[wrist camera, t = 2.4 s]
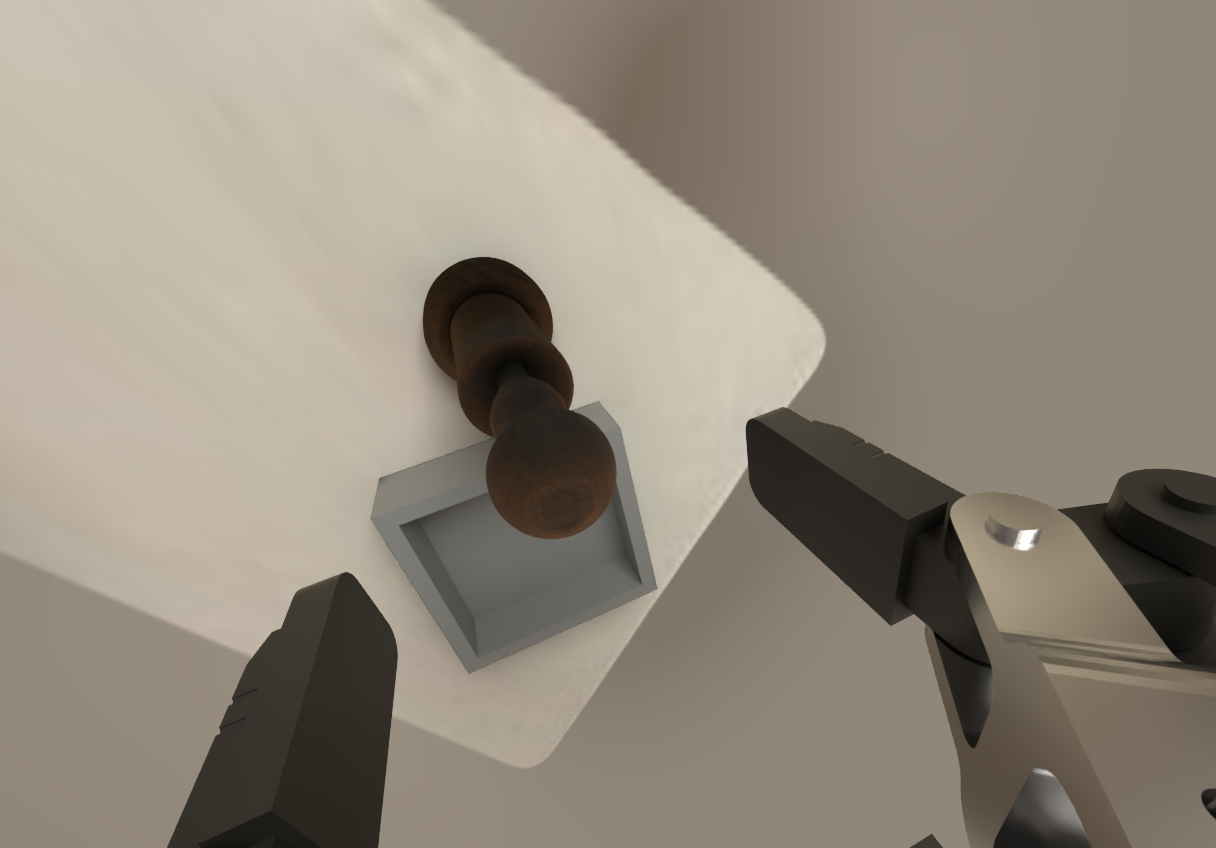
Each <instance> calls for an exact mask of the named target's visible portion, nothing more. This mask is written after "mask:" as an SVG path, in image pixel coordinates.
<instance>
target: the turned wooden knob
mask: <svg viewBox="0 0 1216 848" xmlns="http://www.w3.org/2000/svg"><path fill="white" fill-rule="evenodd" d="M423 330H424V337H425V341H426V344H427V347H428V349H429V351H430V353H431V355H432V357H433V359H434V360H435V362H436V363H437V364H438V365H439V367H440V368H441V369H442V370H443V371H444V372H445V373H446V374H448V375H449V376H450V377H452V378H453V379H454V380H456V381H457V384H458V394H459V400H460V404H461V407H462V409H463V411H464V413H465V415H466V416H467V418H468V419H469V421H470V422H471V423H472V424H473V425H474V426H475V427H476V428H477V429H479V430H480V431H482V432H483V433H485V434H487V435H489V436H491V437H493V438H496V440H495V442H494V443H493V445H492V447H491V449H490V452H489V455H488V459H487V463H486V484H487V489H488V492H489V495H490V498H491V500H492V502H493V504H494V506H495V508H496V509H497V511H498V512H499V514H500V515H501V516H502V517H503V519H504V520H505V521H506V522H507V523H509V524H510V525H511V526H512V527H514V528H515V529H517V530H518V531H520V532H522V533H524V534H526V535H529V536H532V537H536V538H541V539H561V538H566V537H570V536H573V535H575V534H578V533H580V532H582V531H584V530H585V529H587V528H588V527H590V526H591V525H592V524H594V523H595V522H596V521H597V520H598V519H599V518H600V517H601V516H602V514H603V513H604V512H605V510H606V509H607V507H608V505H609V503H610V501H611V499H612V496H613V494H614V490H615V485H616V477H617V469H616V461H615V456H614V452H613V450H612V447H611V445H610V443H609V441H608V439H607V437H606V436H605V434H604V433H603V432H602V430H601V429H600V428H599V427H598V426H597V425H596V424H595V423H594V422H592V421H591V420H590V419H588V418H587V417H585V416H583V415H581V414H579V413H577V412H574V411H571V410H569V408H570V405H571V402H572V398H573V391H574V384H573V378H572V373H571V370H570V368H569V366H568V364H567V362H566V360H565V359H564V357H563V356H562V354H561V353H560V352H559V351H558V350H557V349H556V347H555V346H554V345H553V344H552V343H551V339H552V333H553V321H552V314H551V310H550V307H549V304H548V301H547V299H546V297H545V295H544V294H543V292H542V290H541V289H540V288H539V286H538V285H537V284H536V283H535V282H534V281H533V280H532V279H531V278H530V277H529V276H528V275H527V274H526V273H524V272H523V271H522V270H521V269H519V268H518V267H516V266H515V265H513V264H511V263H509V262H506V261H504V260H500V259H496V258H490V257H477V258H470V259H466V260H463V261H460V262H458V263H456V264H454V265H452V266H450V267H449V268H447V269H446V270H445V271H444V272H442V273H441V274H440V275H439V276H438V278H437V279H436V280H435V281H434V283H433V284H432V286H431V288H430V290H429V292H428V294H427V297H426V300H425V304H424V311H423Z"/></svg>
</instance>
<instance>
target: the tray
mask: <svg viewBox="0 0 1216 848" xmlns="http://www.w3.org/2000/svg"><path fill="white" fill-rule="evenodd" d="M572 411H574V412H577V413H579V414H581V415H583V416H585V417H587V418H588V419H590V420H591V421H592V422H594V423H595V424H596V425H597V426H598V427H599V428H600V429H601V430H602V432H603V433H604V434H605V436H606V437H607V439H608V441H609V443H610V445H611V447H612V450H613V452H614V456H615V461H616V469H617V477H616V485H615V490H614V494H613V496H612V499H611V501H610V503H609V505H608V507H607V509H606V510H605V512H604V513H603V514H602V516H601V517H600V518H599V519H598V520H597V521H596V522H595V523H594V524H592V525H591V526H590V527H588V528H587V529H585V530H584V531H582V532H580V533H578V534H575V535H573V536H570V537H566V538H561V539H541V538H536V537H532V536H529V535H526V534H524V533H522V532H520V531H518V530H517V529H515V528H514V527H512V526H511V525H510V524H509V523H507V522H506V521H505V520H504V519H503V517H502V516H501V515H500V514H499V512H498V511H497V509H496V508H495V506H494V504H493V502H492V500H491V498H490V495H489V492H488V489H487V484H486V463H487V459H488V455H489V452H490V449H491V447H492V445H493V443H494V442H495V440H496V438H493V439H490V440H487V441H484V442H481V443H479V444H476V445H473V446H470V447H467V448H464V449H462V450H459V451H456V452H453V453H450V454H447V455H445V456H442V457H439V458H436V459H433V460H430V461H428V462H425V463H422V464H419V465H416V466H413V467H410V468H408V469H405V470H402V471H399V472H396V473H393V474H391V475H388V476H385V477H382V478H379V482H378V487H377V491H376V496H375V500H374V505H373V510H372V514H371V520H372V522H373V523H374V525H375V527H376V528H377V530H378V531H379V533H380V535H381V536H382V538H383V539H384V541H385V542H386V544H387V546H388V547H389V549H390V550H391V552H392V553H393V555H394V557H395V558H396V560H397V561H398V563H399V564H400V566H401V568H402V569H403V571H404V572H405V574H406V575H407V577H408V579H409V580H410V582H411V583H412V585H413V586H414V588H415V590H416V591H417V593H418V594H419V596H420V598H421V599H422V601H423V602H424V604H425V605H426V607H427V609H428V610H429V612H430V613H431V615H432V616H433V618H434V620H435V621H436V623H437V624H438V626H439V627H440V629H441V631H442V632H443V634H444V635H445V637H446V638H447V640H448V642H449V643H450V645H451V646H452V648H453V649H454V651H455V653H456V654H457V656H458V657H459V659H460V660H461V662H462V664H463V665H464V667H465V668H466V670H467V672H468V673H471V672H474V671H476V670H478V669H480V668H483V667H485V666H487V665H489V664H491V663H494V662H496V661H498V660H500V659H503V658H505V657H507V656H509V655H512V654H514V653H516V652H518V651H520V650H523V649H525V648H527V647H529V646H532V645H534V644H536V643H538V642H540V641H543V640H545V639H547V638H549V637H552V636H554V635H556V634H558V633H561V632H563V631H565V630H567V629H569V628H572V627H574V626H576V625H578V624H581V623H583V622H585V621H587V620H589V619H592V618H594V617H596V616H598V615H601V614H603V613H605V612H607V611H609V610H612V609H614V608H616V607H618V606H621V605H623V604H625V603H627V602H630V601H632V600H634V599H636V598H638V597H641V596H643V595H645V594H647V593H650V592H652V591H654V590H656V589H657V585H656V580H655V576H654V572H653V567H652V563H651V559H650V555H649V550H648V546H647V542H646V537H645V533H644V529H643V524H642V520H641V516H640V511H639V507H638V503H637V498H636V494H635V490H634V485H633V481H632V477H631V473H630V468H629V464H628V460H627V455H626V451H625V447H624V442H623V438H622V434H621V429H620V427H619V425H618V424H617V423H616V422H615V420H614V419H613V418H612V417H611V416H610V414H609V413H608V412H607V411H606V409H605V408H604V407H603V406H602V405H601V403H600V402H599V401H598V402H595V403H592V404H589V405H587V406H584V407H581V408H578V409H575V410H572Z"/></svg>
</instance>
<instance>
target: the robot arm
mask: <svg viewBox="0 0 1216 848" xmlns="http://www.w3.org/2000/svg"><path fill="white" fill-rule="evenodd" d="M746 441H747V455H748V469H749V481H750V485H751V488H752V490H753V493H754V494H755V496H756V498H757V500H758V501H759V502H760V504H761V505H762V506H763V507H764V508H765V509H766V510H767V511H768V512H769V513H770V514H771V515H772V516H774V517H775V518H776V519H777V520H778V521H779V522H780V523H781V524H782V525H783V526H784V527H785V528H786V529H788V530H789V531H790V532H791V533H792V534H793V535H794V536H795V537H796V538H797V539H798V540H799V541H800V542H801V543H803V544H804V545H805V546H806V547H807V548H808V549H809V550H810V551H811V552H812V553H813V554H814V555H815V556H816V557H818V558H819V559H820V560H821V561H822V562H823V563H824V564H825V565H826V566H827V567H828V568H829V569H830V570H832V571H833V572H834V573H835V574H836V575H837V576H838V577H839V578H840V579H841V580H842V581H843V582H845V584H846V585H848V586H849V587H850V588H851V589H852V590H853V591H854V592H855V593H856V594H857V595H858V596H859V597H860V598H862V599H863V600H864V601H865V602H866V603H867V604H868V605H869V606H870V607H871V608H872V609H873V610H874V611H875V612H877V613H878V614H879V615H880V616H881V617H882V618H883V619H884V620H885V621H886V622H887V623H888V624H889V625H893V624H895V623H897V622H899V621H901V620H903V619H905V618H907V617H909V616H911V615H913V614H915V615H916V616H917V617H918V618H920V619H921V620H922V621H923V622H924V623H925V624H926V626H925V638H926V642H927V646H928V649H929V654H930V657H931V660H932V664H933V668H934V671H935V675H936V679H937V682H938V686H939V689H940V693H941V696H942V700H943V704H944V707H945V711H946V714H947V718H948V722H949V725H950V729H951V732H952V736H953V739H954V743H955V747H956V750H957V755H958V759H959V765H960V776H961V803H962V811H963V817H964V823H965V828H966V832H967V837H968V841H969V845H970V848H1216V478H1215V477H1212V476H1208V475H1203V474H1199V473H1194V472H1188V471H1181V470H1172V469H1171V470H1170V469H1144V470H1137V471H1133V472H1130V473H1127V474H1125V475H1124V476H1122V477H1121V478H1120V479H1119V480H1118V483H1117V485H1116V487H1115V489H1114V492H1113V494H1112V496H1111V498H1110V501H1109V503H1103V504H1095V505H1088V506H1080V507H1073V508H1065V509H1058V510H1056V509H1054V508H1053V507H1050V506H1049V505H1046V504H1044V503H1042V502H1039V501H1036V500H1033V499H1030V498H1027V497H1023V496H1019V495H1014V494H1009V493H999V492H982V493H975V494H970V495H967V496H966V495H964V494H962V493H960V492H958V491H956V490H955V489H953V488H951V487H949V486H947V485H945V484H944V483H942V482H940V481H938V480H936V479H935V478H933V477H931V476H929V475H927V474H925V473H924V472H922V471H920V470H918V469H916V468H915V467H912V466H911V465H909V464H907V463H905V462H903V461H902V460H900V459H898V458H896V457H894V456H893V455H891V454H889V453H887V454H885V453H884V452H883V450H881V449H880V448H878V447H876V446H874V445H873V444H871V443H865V441H864V440H863V439H862V438H860V437H858V436H856V435H854V434H853V433H851V432H849V431H847V430H845V429H843V428H841V427H837V426H834V425H830V424H826V423H822V422H818V421H812V422H810V421H808V420H806V419H805V418H803V417H802V416H800V415H798V414H797V413H795V412H793V411H791V410H790V409H787V408H784V407H782V408H779V409H776V410H773V411H771V412H768V413H765V414H763V415H760V416H758V417H755V418H752V419H750V420H749V421H748V422H747V424H746ZM397 660H398V653H397V645H396V640H395V637H394V634H393V631H392V629H391V627H390V625H389V624H388V622H387V621H386V619H385V618H384V617H383V615H382V614H381V612H380V611H379V610H378V608H377V607H376V605H375V604H374V603H373V601H372V600H371V598H370V597H369V596H368V594H367V593H366V591H365V590H364V589H363V587H362V586H361V584H360V583H359V582H358V580H357V579H356V578H355V577H354V576H353V575H352V574H351V573H348V572H344V573H342V574H339V575H336V576H334V577H331V578H329V579H326V580H323V581H321V582H318V583H315V584H313V585H310V586H308V587H305V588H302V589H300V590H298V591H297V592H296V594H295V595H294V597H293V599H292V602H291V605H290V607H289V610H288V612H287V615H286V617H285V620H284V623H283V625H282V628H281V629H279V630H276V631H274V632H272V633H271V634H270V635H269V637H268V638H267V639H266V641H265V642H264V643H263V644H262V646H261V647H260V648H259V650H258V651H257V652H256V653H255V655H254V656H253V657H252V659H251V660H250V661H249V663H248V664H247V665H246V668H245V670H244V672H243V674H242V677H241V679H240V681H239V684H238V686H237V688H236V690H235V693H234V695H233V697H232V700H233V704H232V705H230V706H228V709H227V711H226V713H225V716H224V718H223V720H222V723H221V725H220V727H219V728H220V734H219V735H217V736H216V737H215V739H214V741H213V743H212V746H211V748H210V750H209V753H208V755H207V757H206V759H205V762H204V764H203V766H202V769H201V771H200V773H199V775H198V778H197V780H196V782H195V785H194V787H193V789H192V792H191V794H190V796H189V798H188V801H187V803H186V805H185V808H184V810H183V812H182V815H181V817H180V819H179V821H178V824H177V826H176V828H175V831H174V833H173V835H172V838H171V840H170V842H169V845H168V847H167V848H378V843H379V833H380V823H381V814H382V805H383V795H384V785H385V776H386V766H387V757H388V747H389V737H390V728H391V718H392V709H393V699H394V689H395V680H396V670H397ZM910 848H943V847H942V846H941V845H940V844H939V842H938V841H937V840H936V838H935V837H934V836H933V835H932V834H931V835H929V836H928V837H926V838H925V839H923V840H921V841H920V842H918V843H917V844H915V845H913V846H912V847H910Z"/></svg>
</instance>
